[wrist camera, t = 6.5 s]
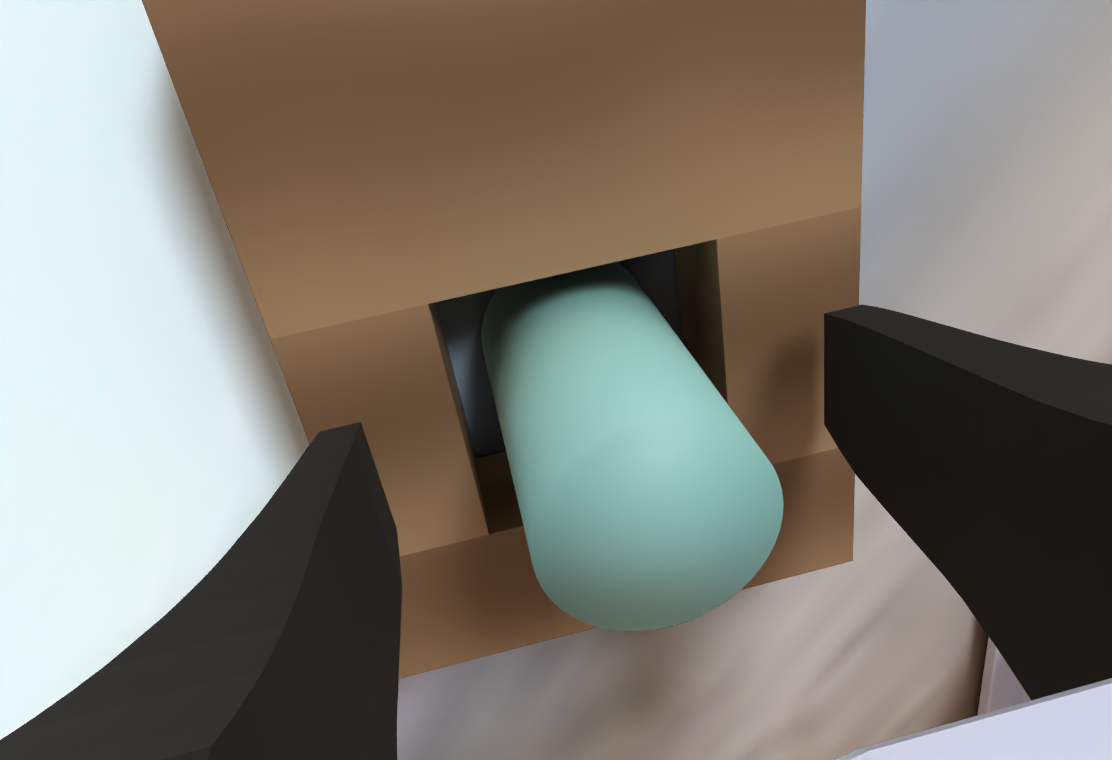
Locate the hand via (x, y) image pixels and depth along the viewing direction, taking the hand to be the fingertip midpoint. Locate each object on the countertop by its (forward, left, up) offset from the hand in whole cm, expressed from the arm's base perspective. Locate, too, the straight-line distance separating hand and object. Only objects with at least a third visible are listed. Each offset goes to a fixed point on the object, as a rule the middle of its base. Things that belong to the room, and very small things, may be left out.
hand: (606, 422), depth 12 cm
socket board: (+1, 0, -3) cm, 3 cm away
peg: (0, 0, -3) cm, 3 cm away
